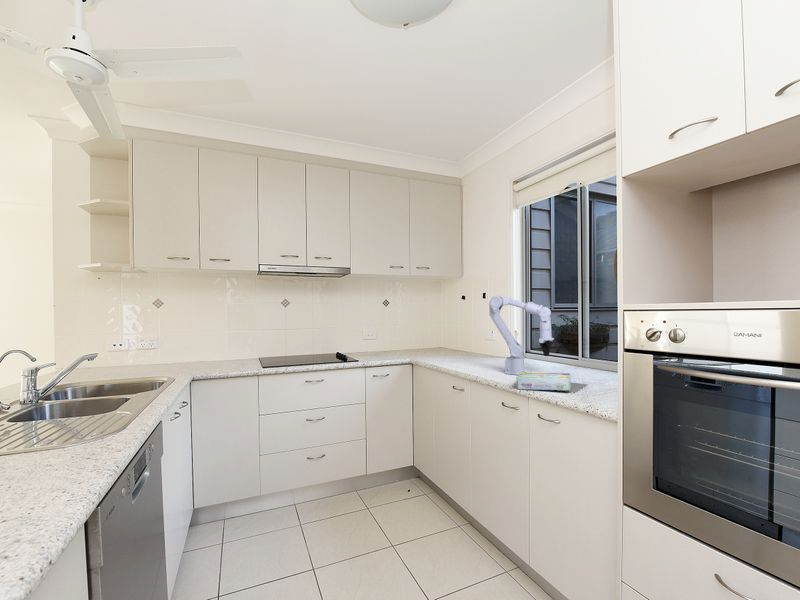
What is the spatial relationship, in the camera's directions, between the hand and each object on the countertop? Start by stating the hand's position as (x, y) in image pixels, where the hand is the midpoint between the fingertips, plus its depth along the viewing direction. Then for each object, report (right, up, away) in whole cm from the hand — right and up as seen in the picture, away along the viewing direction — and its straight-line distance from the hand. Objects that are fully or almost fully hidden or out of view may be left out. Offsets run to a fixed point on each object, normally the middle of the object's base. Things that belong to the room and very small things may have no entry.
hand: (546, 355), depth 193 cm
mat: (-2, -10, -29) cm, 30 cm away
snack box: (-10, -7, -23) cm, 26 cm away
